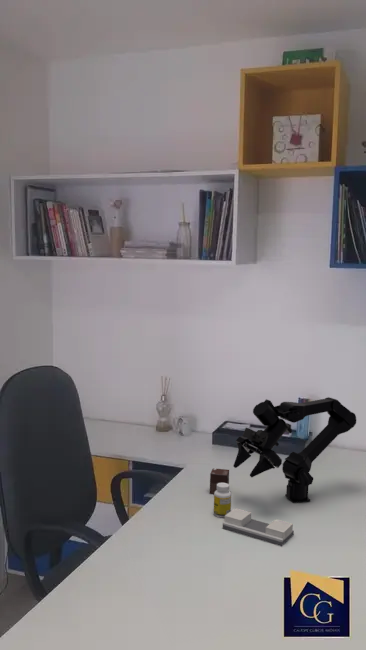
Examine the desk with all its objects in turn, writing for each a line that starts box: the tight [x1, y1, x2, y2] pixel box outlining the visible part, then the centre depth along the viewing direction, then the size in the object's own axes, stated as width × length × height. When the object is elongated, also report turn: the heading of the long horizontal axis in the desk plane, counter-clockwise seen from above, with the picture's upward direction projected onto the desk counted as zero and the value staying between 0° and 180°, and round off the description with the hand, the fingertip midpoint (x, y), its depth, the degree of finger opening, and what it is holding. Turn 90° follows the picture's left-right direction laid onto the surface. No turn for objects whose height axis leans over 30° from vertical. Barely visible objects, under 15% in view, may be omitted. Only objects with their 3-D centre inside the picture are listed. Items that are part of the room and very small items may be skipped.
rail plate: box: [222, 507, 295, 547], centre depth 181 cm, size 19×9×4 cm, turn 58°
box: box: [209, 467, 230, 495], centre depth 211 cm, size 6×6×7 cm
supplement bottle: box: [213, 483, 232, 519], centre depth 192 cm, size 5×5×10 cm
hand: (242, 471), depth 195 cm, fingers open, 9 cm apart
